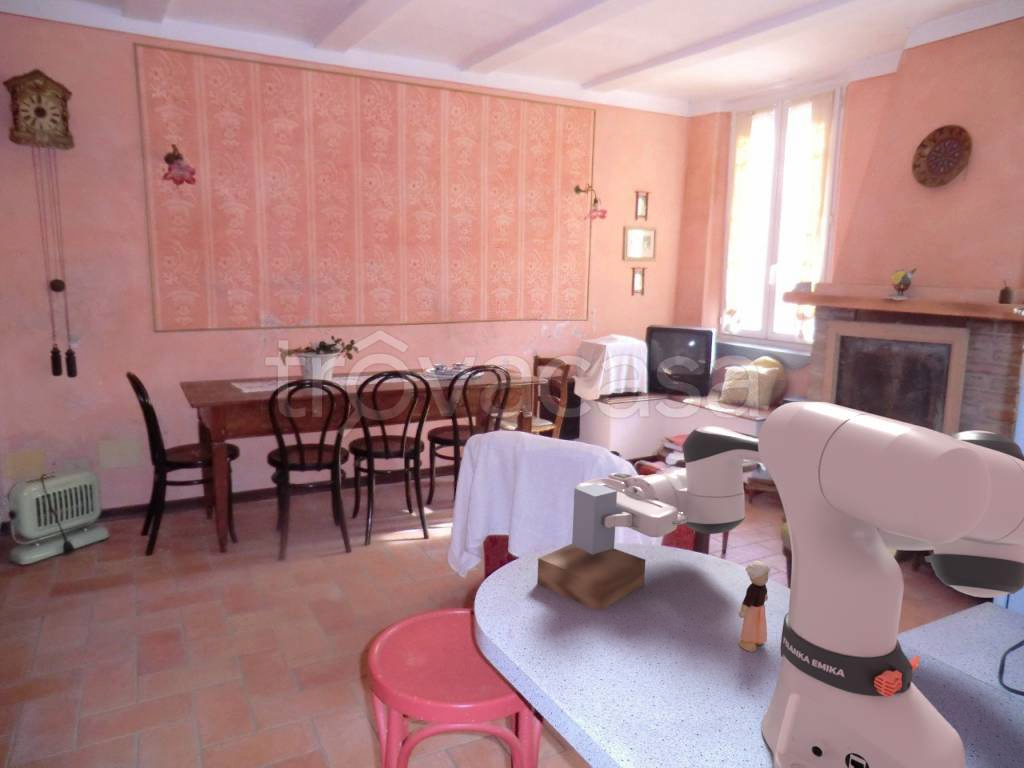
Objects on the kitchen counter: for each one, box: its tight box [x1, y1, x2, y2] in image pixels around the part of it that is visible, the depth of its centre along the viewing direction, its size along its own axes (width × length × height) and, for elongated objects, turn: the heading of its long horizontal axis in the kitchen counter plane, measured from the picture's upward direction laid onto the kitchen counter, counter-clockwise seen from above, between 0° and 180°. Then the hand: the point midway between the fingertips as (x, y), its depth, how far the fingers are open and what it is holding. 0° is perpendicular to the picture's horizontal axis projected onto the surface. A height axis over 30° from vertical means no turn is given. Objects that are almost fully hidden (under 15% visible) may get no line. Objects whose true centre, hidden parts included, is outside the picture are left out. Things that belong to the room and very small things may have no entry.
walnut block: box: [536, 543, 646, 612], centre depth 117 cm, size 13×13×5 cm
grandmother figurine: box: [737, 560, 771, 653], centre depth 100 cm, size 8×4×13 cm, turn 147°
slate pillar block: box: [571, 483, 617, 555], centre depth 116 cm, size 5×5×10 cm
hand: (590, 516), depth 115 cm, fingers closed on slate pillar block, 5 cm apart
